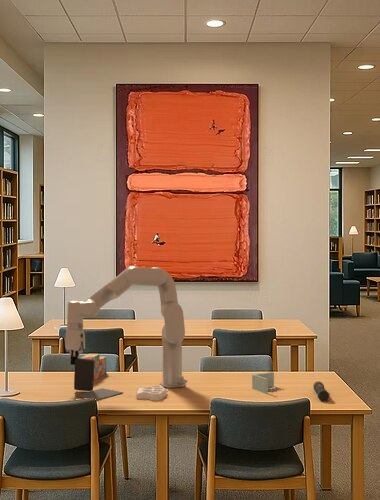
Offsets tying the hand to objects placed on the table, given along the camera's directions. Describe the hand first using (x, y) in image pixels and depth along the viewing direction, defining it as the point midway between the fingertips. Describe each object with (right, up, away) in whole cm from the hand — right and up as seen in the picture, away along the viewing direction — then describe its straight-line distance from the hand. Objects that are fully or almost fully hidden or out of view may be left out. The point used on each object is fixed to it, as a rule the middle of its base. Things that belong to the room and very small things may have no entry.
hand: (74, 364), depth 360 cm
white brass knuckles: (+39, -14, -11) cm, 42 cm away
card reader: (+5, -12, -2) cm, 13 cm away
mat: (+13, -13, -9) cm, 21 cm away
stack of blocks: (+5, -12, +31) cm, 33 cm away
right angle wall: (+94, -13, 0) cm, 95 cm away
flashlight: (+117, -13, -13) cm, 119 cm away
